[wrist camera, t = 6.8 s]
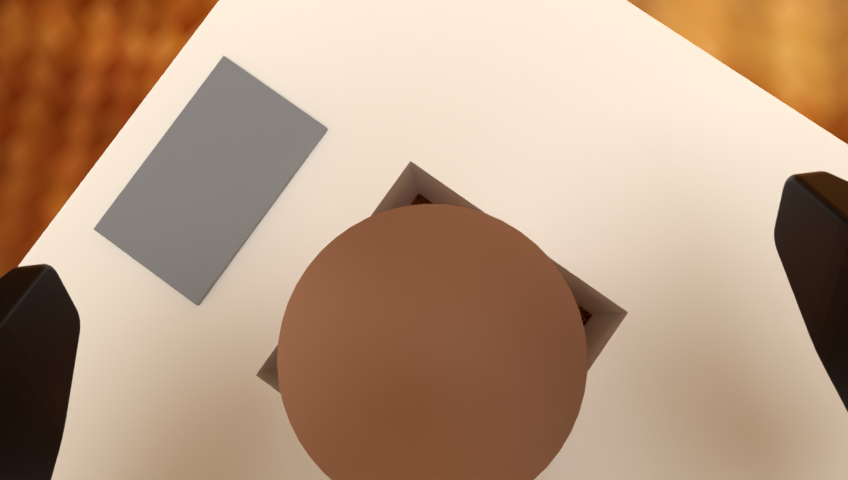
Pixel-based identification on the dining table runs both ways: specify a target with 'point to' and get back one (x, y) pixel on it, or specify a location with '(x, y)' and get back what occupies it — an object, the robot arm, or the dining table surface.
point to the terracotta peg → (432, 350)
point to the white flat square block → (453, 185)
